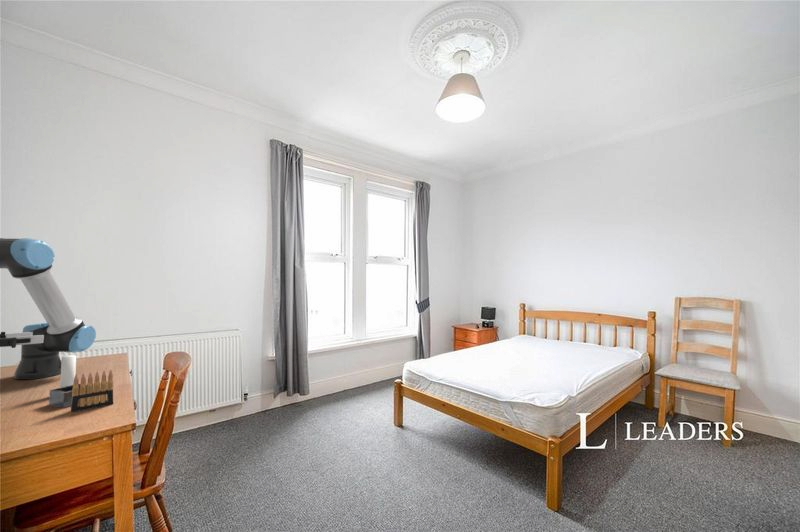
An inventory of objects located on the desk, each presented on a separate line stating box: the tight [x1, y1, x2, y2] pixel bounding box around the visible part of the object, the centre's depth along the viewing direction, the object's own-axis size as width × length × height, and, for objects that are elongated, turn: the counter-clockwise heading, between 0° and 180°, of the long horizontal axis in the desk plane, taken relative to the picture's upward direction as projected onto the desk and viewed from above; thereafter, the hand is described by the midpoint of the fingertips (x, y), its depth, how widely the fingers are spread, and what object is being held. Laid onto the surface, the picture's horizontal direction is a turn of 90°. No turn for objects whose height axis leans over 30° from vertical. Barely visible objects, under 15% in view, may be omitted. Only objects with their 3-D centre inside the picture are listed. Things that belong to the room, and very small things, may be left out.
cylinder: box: [59, 354, 77, 388], centre depth 129 cm, size 4×4×14 cm
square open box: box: [48, 383, 87, 409], centre depth 120 cm, size 8×8×5 cm
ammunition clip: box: [70, 369, 114, 413], centre depth 116 cm, size 11×2×12 cm, turn 135°
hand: (37, 337), depth 122 cm, fingers open, 13 cm apart
